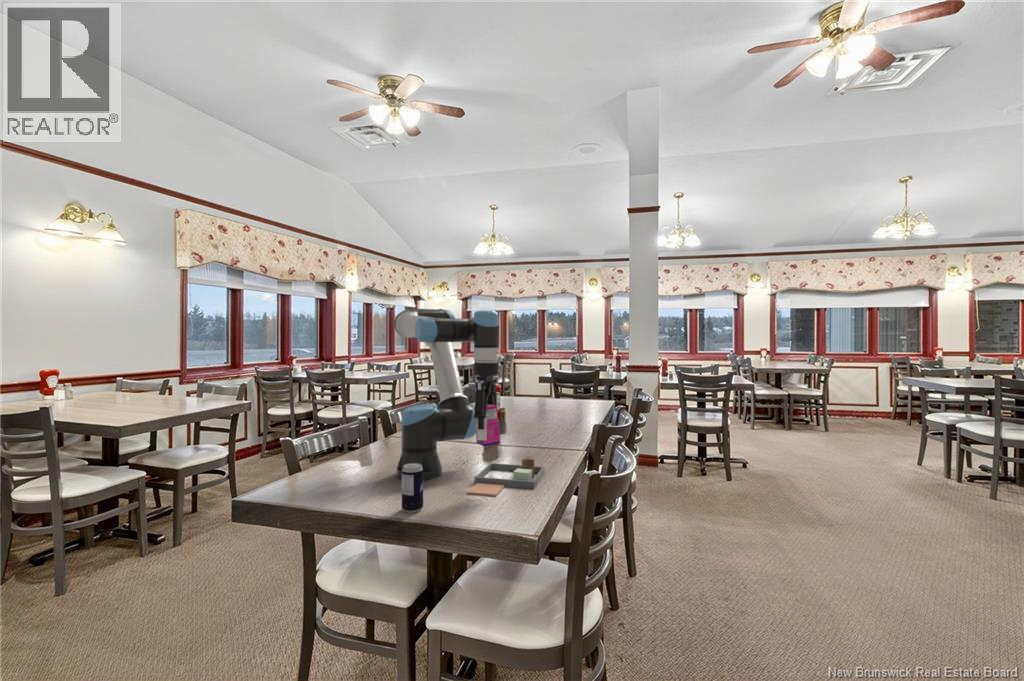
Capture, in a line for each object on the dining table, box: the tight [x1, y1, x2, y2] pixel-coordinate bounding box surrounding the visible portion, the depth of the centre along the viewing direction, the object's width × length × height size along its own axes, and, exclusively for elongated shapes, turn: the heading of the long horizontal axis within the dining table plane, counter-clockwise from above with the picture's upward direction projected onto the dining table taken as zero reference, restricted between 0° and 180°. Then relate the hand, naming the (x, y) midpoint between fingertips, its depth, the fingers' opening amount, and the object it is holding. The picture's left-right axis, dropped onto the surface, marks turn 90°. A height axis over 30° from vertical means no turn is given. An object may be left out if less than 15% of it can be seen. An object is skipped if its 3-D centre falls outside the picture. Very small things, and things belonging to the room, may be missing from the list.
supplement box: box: [474, 405, 501, 447], centre depth 142 cm, size 6×6×12 cm
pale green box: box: [512, 468, 533, 481], centre depth 149 cm, size 5×4×4 cm
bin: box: [473, 462, 546, 489], centre depth 154 cm, size 19×17×2 cm
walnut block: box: [521, 455, 535, 479], centre depth 157 cm, size 4×4×6 cm
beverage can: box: [401, 463, 424, 514], centre depth 126 cm, size 6×6×12 cm
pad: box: [466, 483, 506, 497], centre depth 142 cm, size 9×9×1 cm
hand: (486, 436), depth 142 cm, fingers closed on supplement box, 8 cm apart
